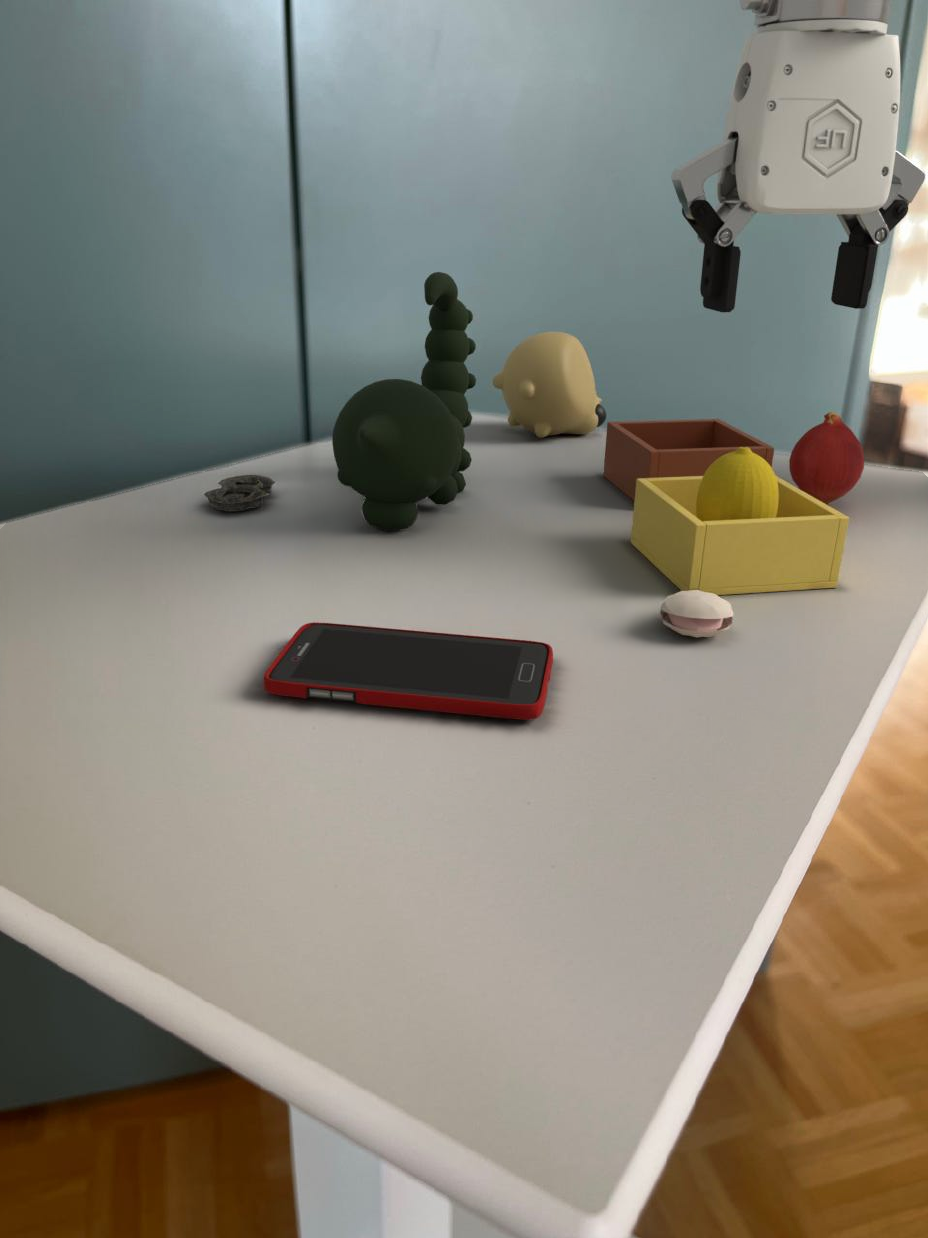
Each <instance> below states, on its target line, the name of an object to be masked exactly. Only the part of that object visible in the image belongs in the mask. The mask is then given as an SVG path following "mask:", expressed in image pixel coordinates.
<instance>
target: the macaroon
mask: <svg viewBox="0 0 928 1238" xmlns="http://www.w3.org/2000/svg"><path fill="white" fill-rule="evenodd" d="M659 614H660V617H661V619H662V623H663V625H665V626H666V627H668V628H670V629H671V630H673V631H674V632H676V633H677V634H680V635H682V636H689V637H693V638H696V639H697V638H702V637H704V638H711V637H714V636H716V635H718V634H719V635H720V634H721V633H723V632H726V631H727V630H729V629H730V627H731V626H732V624H733V620H734V618H733V617H734V611H733V608H732V605H731V603H730V602H729V601H728V600H726V599H723V598H721V596H720V595H716V594H713V593H708V592H703V591H699V590H692V591H681V590H680V591H678V592H676V593H674V594H670V595H667V596H666V597H665V599H664V600H663V602H662V603H661V605H660V612H659Z"/></svg>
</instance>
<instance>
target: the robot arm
mask: <svg viewBox="0 0 928 1238" xmlns="http://www.w3.org/2000/svg"><path fill="white" fill-rule="evenodd" d="M892 1H893V0H739V2H740V5H739V6H740V7H741V9H742V10H743V11H751V12H752V13H753V14H755V18H754V27H756V30H755V34H752V35H749V36H747V37H746V39H745V43H744V46H743V49H742V52H741V55H740V59H739V62H738V66H737V69H736V73H735V76H734V80H733V84H732V89H731V94H730V97H729V102H728V106H727V111H726V116H725V123H724V127H723V134H722V140H721V141H720V142H719V143H718V144H715V145H714V146H712V147H711V148H709V149H707V150H705V151H704V152H702V153H701V154H698V155H697V156H695V157H694V158H692V159H690V160H688V161H686V162H685V163H683V164H681V165H679V166H678V167H676V168H675V169H673V170H672V173H671V181H672V185H673V187H674V190H675V193H676V196H677V199H678V201H679V203H680V204H681V213H682V216H683V217H684V219H685V220H686V222H687V223H688V224H689V225H690V226H691V228H692V229H693V231H694V232H695V233H696V234H697V236H696V237H697V240H698V241H699V243H701V244H704V246H703V256H702V265H701V276H700V286H699V287H700V288H699V290H700V295H701V297H702V298H703V299H702V306H703V308H704V309H708V310H712V311H715V312H717V313H718V312H719V313H731V312H732V311H734V309H735V307H736V299H737V289H738V281H739V274H740V273H739V271H740V263H741V255H742V253H741V249H740V246H735V245H734V244H735V240H736V238H737V237H738V236H739V235H740V233H742V231H743V230H744V229H745V227H746V226H747V225H748V224H749V223H750V221H751V220H752V219H753V218H754V216H755V215H756V214H757V213H760V214H765V215H783V216H784V215H788V216H789V215H804V216H805V215H808V216H809V215H836V217H837V219H838V220H839V222H840V224H841V226H842V228H843V229H844V232H845V233H846V235H847V237H848V240H847V241H841V242H840V245H839V246H838V249H837V256H836V263H835V270H834V276H833V284H832V290H831V297H830V301H831V302H832V303H833V304H834V305H836V306H842V307H846V308H851V309H856V310H858V309H860V310H861V309H865V308H866V306H867V304H868V300H869V299H868V298H869V293H870V291H871V288H872V285H873V279H874V275H875V274H874V273H875V267H876V261H877V256H878V248H879V246H881V245H884V244H885V243H887V241H888V239H889V237H890V233H891V231H892V230H893V229H894V228H895V227H896V226H897V225H898V224H900V222H901V221H902V220H903V219H904V218H905V217H906V216H907V214H908V212H909V205H910V204H912V202H913V200H914V199H915V197H916V195H917V194H918V192H919V190H920V189H921V187H922V186H923V183H924V182H925V179H926V172H925V171H924V170H923V168H921V167H919V166H918V165H917V164H915V163H914V162H913V161H912V160H910V159H909V158H907V157H906V156H905V155H903V154H902V153H901V152H899V151H898V150H897V145H898V144H897V143H898V132H899V120H900V109H901V107H900V106H901V53H900V52H901V51H900V40H899V39H900V38H899V35H898V34H887V33H888V24H889V20H890V13H891V8H892ZM715 174H717V182H716V183H717V184H716V185H717V187H716V190H717V191H716V193H717V194H716V195H717V200H718V204H717V206H716V207H715V208H713V206H712V205H711V203H710V202H709V201H708V200H707V198H706V193H705V190H704V184H705V182H706V181H707V180H708V179H709V178H711V177H712V176H714V175H715Z"/></svg>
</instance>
